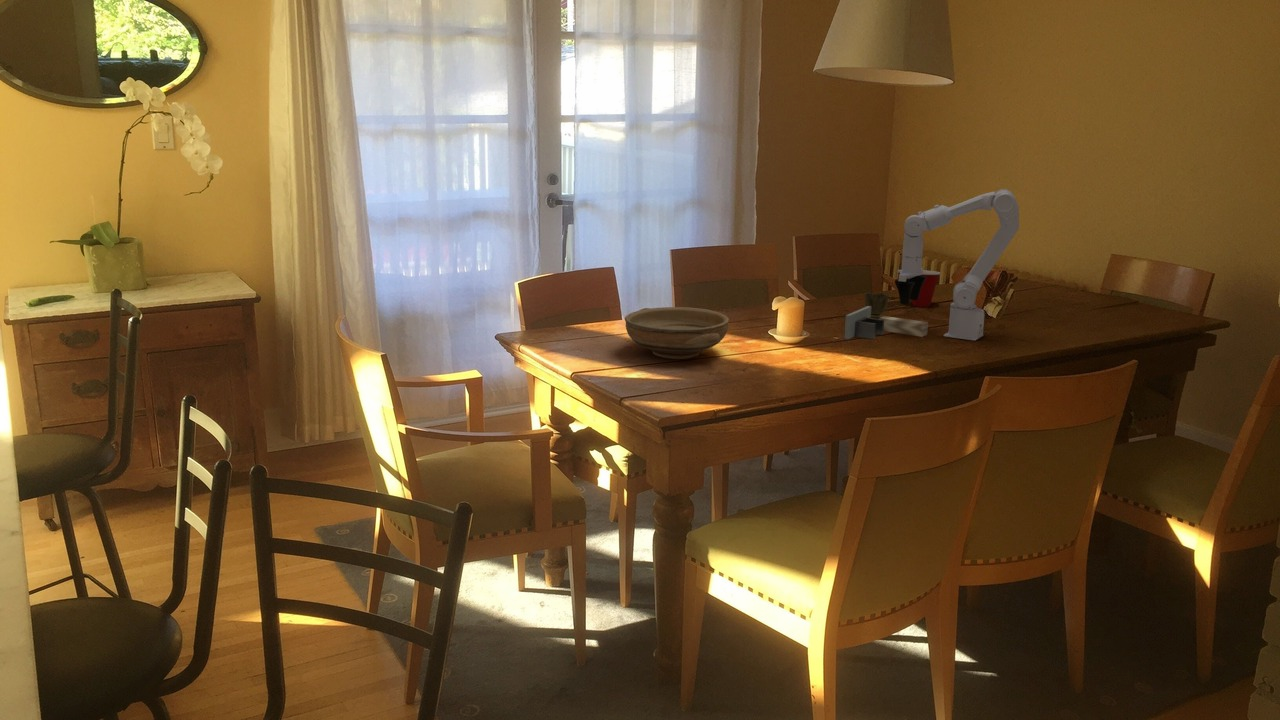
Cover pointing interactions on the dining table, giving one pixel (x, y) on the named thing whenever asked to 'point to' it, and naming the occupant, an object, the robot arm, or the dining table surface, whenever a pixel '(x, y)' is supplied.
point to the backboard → (853, 318)
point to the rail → (905, 326)
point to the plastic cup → (927, 289)
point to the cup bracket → (869, 327)
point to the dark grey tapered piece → (876, 303)
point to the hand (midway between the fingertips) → (909, 302)
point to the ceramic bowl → (676, 330)
